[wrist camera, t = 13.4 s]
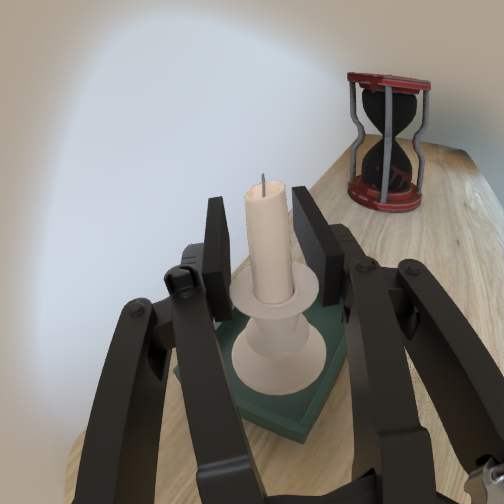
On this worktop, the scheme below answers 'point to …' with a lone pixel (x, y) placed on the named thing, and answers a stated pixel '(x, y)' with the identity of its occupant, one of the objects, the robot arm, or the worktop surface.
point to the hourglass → (387, 142)
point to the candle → (274, 302)
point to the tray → (295, 404)
